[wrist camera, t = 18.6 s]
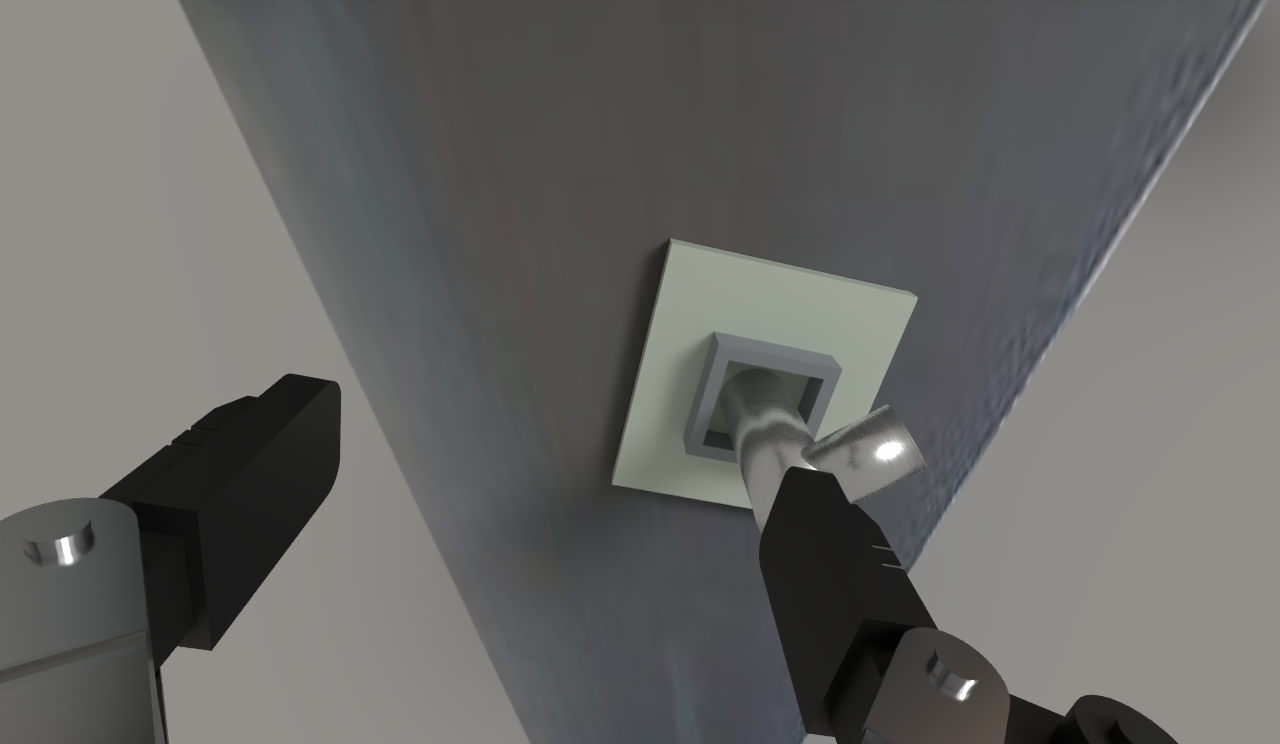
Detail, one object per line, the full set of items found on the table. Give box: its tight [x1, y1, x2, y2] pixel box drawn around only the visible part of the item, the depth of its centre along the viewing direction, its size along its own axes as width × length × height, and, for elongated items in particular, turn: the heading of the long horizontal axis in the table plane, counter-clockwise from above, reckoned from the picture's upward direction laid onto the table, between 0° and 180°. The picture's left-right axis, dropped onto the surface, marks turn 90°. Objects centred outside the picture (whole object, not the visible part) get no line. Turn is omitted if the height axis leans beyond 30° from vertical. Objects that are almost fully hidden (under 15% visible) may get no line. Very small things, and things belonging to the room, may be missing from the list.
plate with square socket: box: [612, 238, 918, 509], centre depth 46 cm, size 18×20×4 cm
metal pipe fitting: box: [720, 369, 927, 534], centre depth 39 cm, size 10×5×14 cm, turn 122°
